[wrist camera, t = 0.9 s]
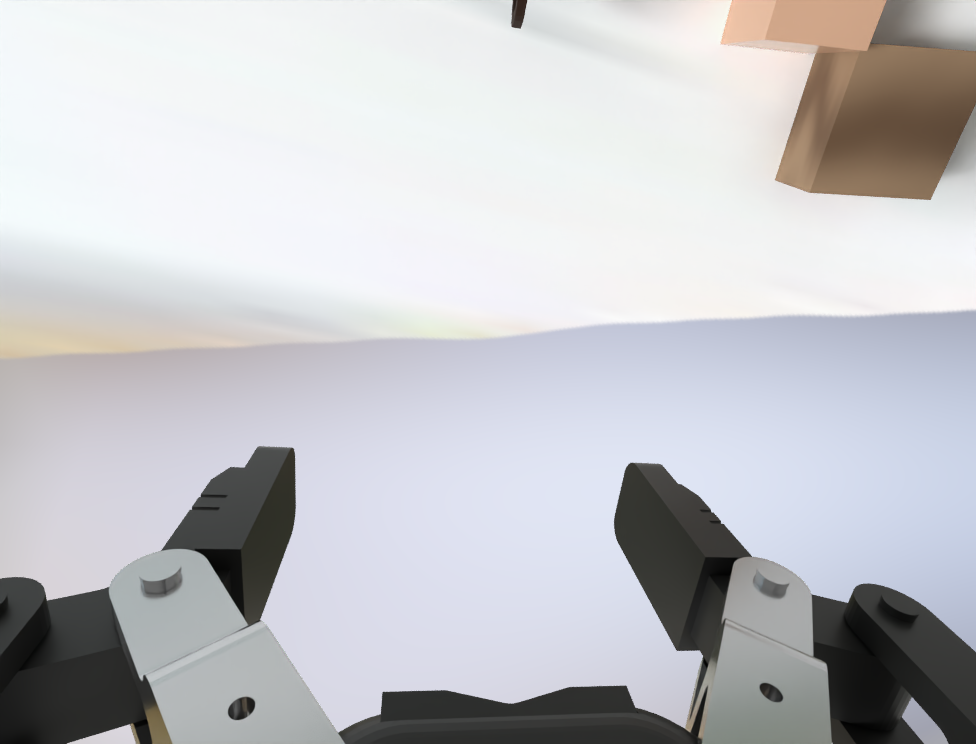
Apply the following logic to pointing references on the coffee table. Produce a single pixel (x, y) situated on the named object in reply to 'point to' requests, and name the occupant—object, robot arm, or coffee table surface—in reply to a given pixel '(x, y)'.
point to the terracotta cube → (803, 25)
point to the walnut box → (879, 121)
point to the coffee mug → (518, 13)
